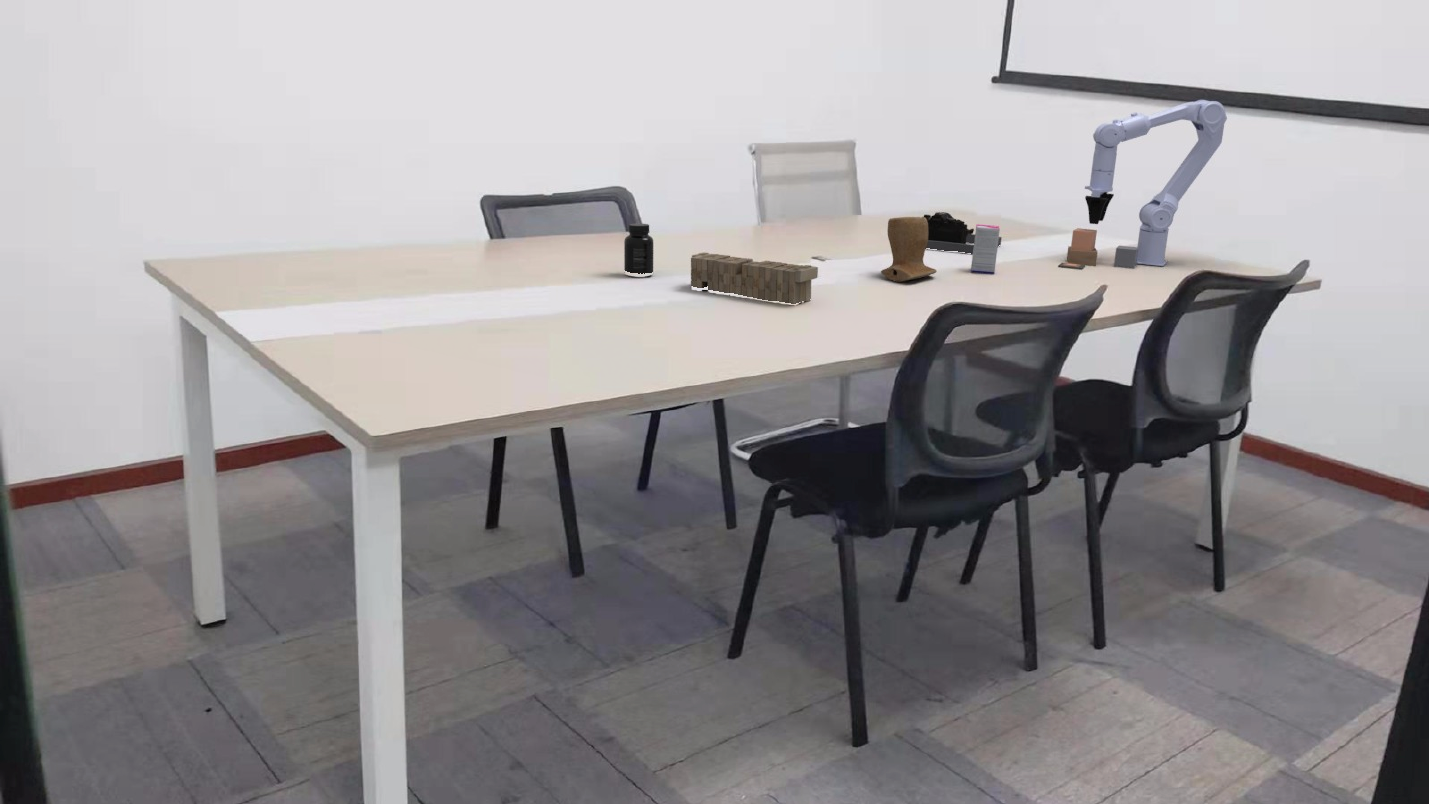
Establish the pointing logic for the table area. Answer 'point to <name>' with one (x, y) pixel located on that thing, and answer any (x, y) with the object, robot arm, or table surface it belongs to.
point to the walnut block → (1082, 257)
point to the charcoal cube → (1126, 257)
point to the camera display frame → (955, 245)
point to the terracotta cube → (1083, 239)
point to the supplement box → (985, 249)
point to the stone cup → (907, 248)
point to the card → (1071, 266)
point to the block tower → (753, 277)
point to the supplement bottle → (638, 249)
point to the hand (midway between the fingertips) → (1096, 222)
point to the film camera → (947, 228)
